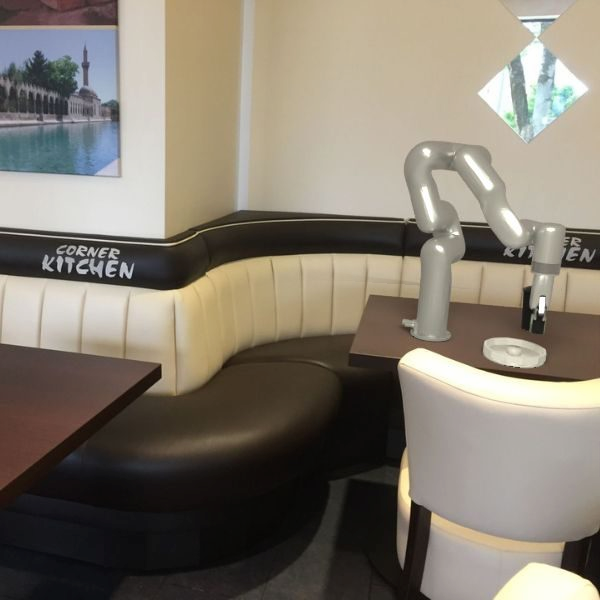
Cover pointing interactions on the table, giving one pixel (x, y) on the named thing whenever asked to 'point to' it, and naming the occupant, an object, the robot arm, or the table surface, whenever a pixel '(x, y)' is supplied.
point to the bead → (531, 323)
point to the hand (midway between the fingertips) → (536, 330)
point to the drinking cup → (526, 308)
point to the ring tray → (522, 361)
